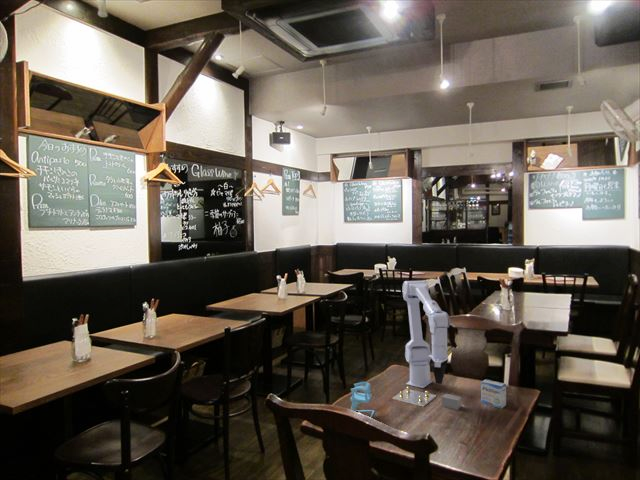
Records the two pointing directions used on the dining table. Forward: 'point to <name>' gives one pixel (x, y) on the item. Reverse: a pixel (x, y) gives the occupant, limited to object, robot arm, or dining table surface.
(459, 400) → the plain grey block
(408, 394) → the plate with brass knobs
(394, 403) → the dining table surface
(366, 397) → the chair
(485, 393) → the medicine box
